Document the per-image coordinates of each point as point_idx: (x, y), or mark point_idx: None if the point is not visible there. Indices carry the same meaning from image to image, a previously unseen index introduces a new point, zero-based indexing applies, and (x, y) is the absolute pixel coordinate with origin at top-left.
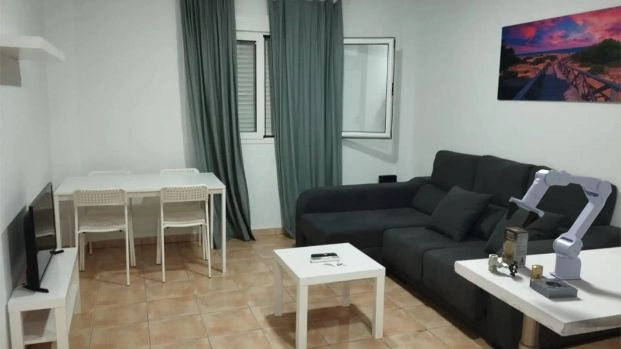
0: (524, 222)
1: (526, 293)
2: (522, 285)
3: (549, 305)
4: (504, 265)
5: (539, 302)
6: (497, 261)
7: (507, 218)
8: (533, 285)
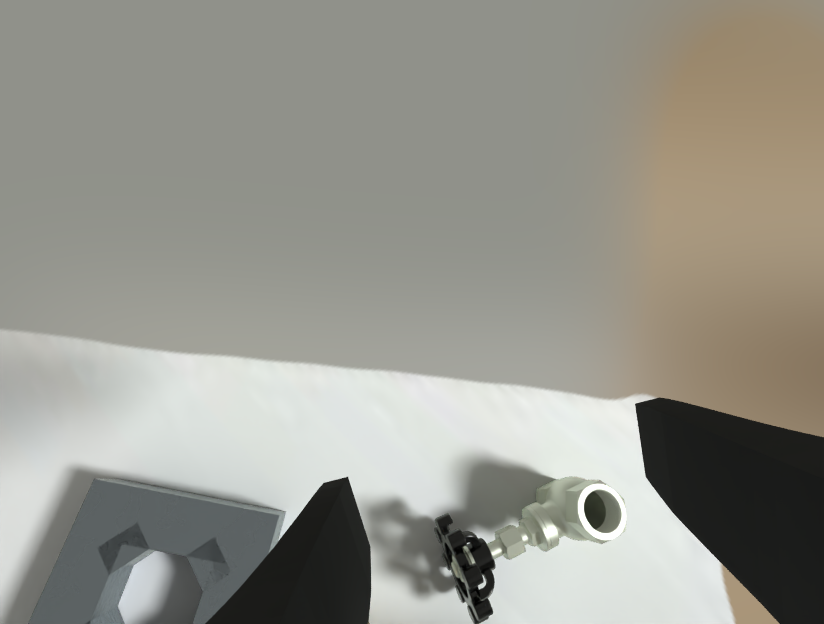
0: (317, 520)
1: (225, 418)
2: (314, 487)
3: (60, 406)
4: (507, 529)
5: (114, 388)
6: (560, 519)
7: (647, 420)
8: (246, 505)
